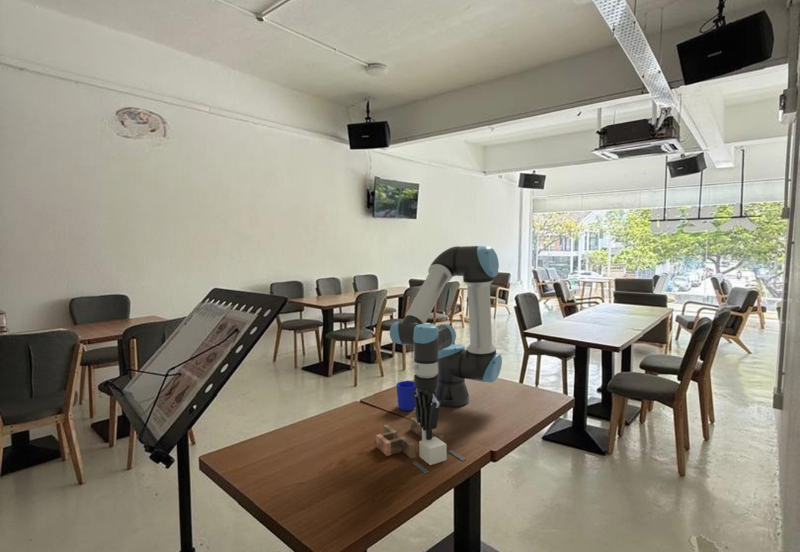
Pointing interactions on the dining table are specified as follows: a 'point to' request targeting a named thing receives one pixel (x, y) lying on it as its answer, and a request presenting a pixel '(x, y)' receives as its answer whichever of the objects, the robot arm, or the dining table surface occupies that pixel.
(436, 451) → the block
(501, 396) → the dining table surface
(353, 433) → the dining table surface
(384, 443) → the wooden bar frame
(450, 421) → the dining table surface
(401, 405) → the mug
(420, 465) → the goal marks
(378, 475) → the dining table surface
